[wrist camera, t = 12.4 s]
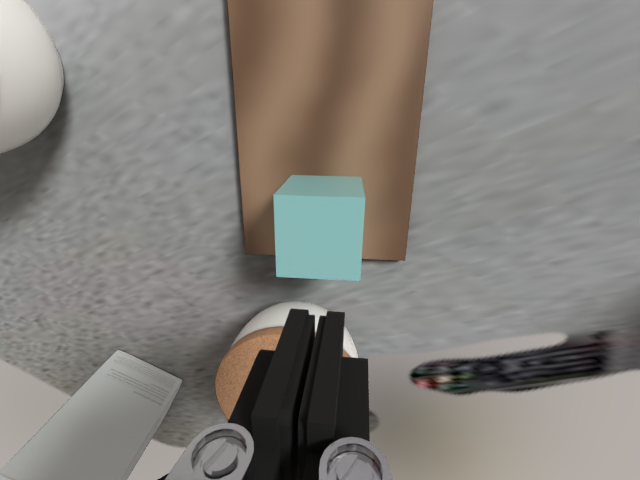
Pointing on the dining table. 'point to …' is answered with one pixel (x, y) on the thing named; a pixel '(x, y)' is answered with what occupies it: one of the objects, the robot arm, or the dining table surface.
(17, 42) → the lidded bowl
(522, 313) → the dining table surface
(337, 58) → the walnut board
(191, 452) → the robot arm
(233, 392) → the lidded jar
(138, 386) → the supplement box
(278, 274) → the teal block
